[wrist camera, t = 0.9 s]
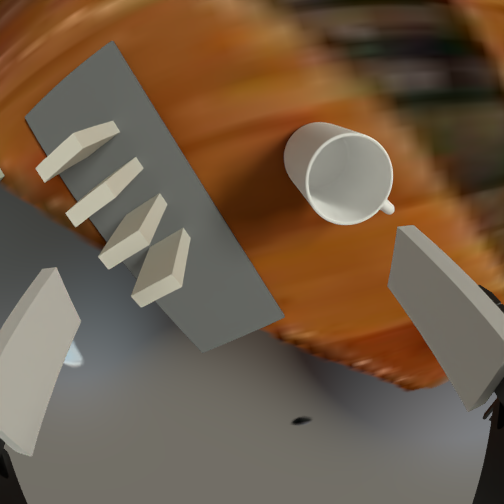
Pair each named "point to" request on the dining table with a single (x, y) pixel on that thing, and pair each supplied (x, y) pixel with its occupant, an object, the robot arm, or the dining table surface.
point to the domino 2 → (104, 192)
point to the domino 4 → (162, 268)
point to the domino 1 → (76, 149)
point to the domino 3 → (133, 232)
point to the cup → (339, 172)
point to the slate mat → (149, 185)
